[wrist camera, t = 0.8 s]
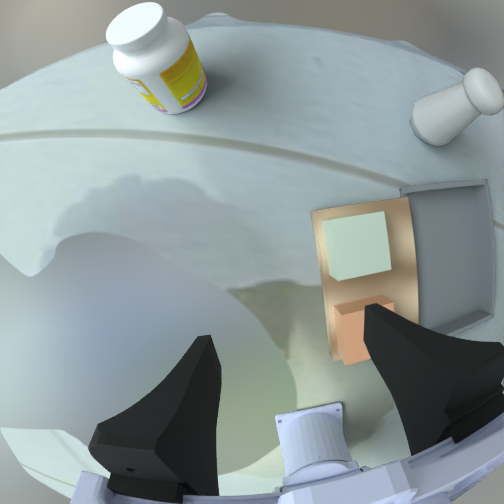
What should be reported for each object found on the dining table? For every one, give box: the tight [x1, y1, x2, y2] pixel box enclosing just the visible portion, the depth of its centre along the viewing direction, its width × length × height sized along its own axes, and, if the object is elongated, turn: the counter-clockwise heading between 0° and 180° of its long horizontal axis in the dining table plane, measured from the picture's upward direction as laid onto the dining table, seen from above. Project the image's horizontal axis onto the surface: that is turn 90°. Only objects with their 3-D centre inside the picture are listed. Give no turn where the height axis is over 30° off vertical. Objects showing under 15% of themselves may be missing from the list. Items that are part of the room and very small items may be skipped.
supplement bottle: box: [106, 2, 207, 114], centre depth 19 cm, size 7×7×13 cm
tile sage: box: [321, 211, 391, 281], centre depth 23 cm, size 5×5×3 cm
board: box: [310, 197, 418, 361], centre depth 26 cm, size 15×10×2 cm, turn 10°
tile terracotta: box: [334, 295, 394, 365], centre depth 24 cm, size 5×5×3 cm
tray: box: [400, 179, 496, 337], centre depth 25 cm, size 17×12×3 cm
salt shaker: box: [409, 68, 504, 146], centre depth 19 cm, size 6×6×13 cm
